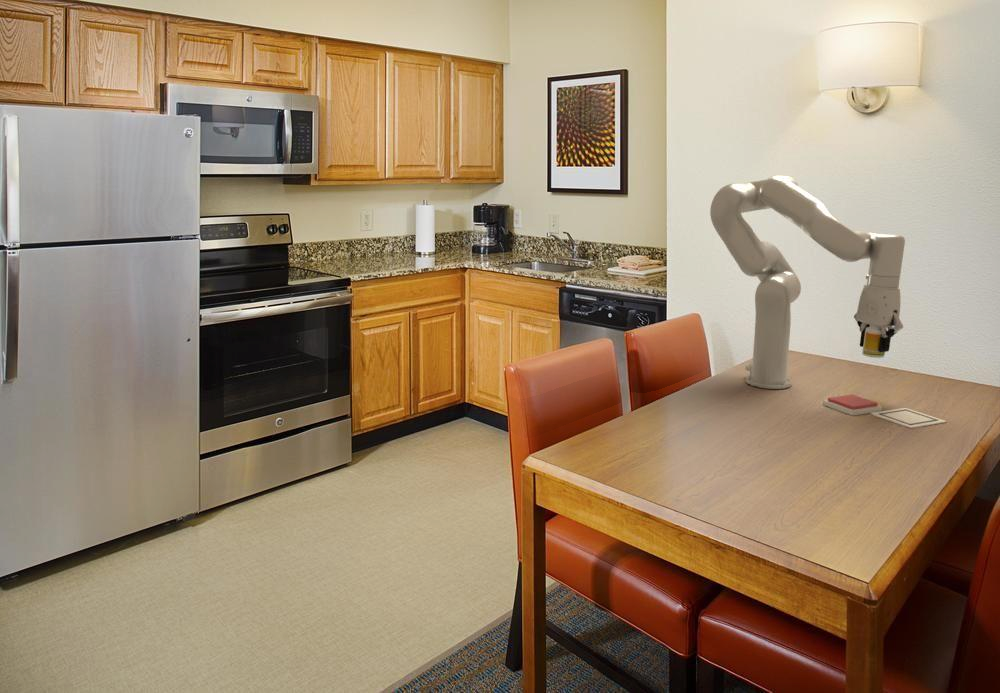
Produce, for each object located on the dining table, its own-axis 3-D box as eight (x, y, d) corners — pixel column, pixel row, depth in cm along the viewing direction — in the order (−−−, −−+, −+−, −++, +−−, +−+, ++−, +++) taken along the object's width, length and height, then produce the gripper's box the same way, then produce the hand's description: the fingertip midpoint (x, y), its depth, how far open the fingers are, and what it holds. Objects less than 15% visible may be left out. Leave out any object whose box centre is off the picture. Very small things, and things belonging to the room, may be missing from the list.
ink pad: (822, 404, 204) (823, 397, 204) (851, 400, 208) (852, 393, 208) (852, 415, 195) (853, 407, 195) (881, 410, 199) (882, 403, 199)
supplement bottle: (886, 358, 204) (891, 322, 202) (864, 357, 205) (869, 321, 203) (881, 353, 209) (886, 318, 207) (859, 352, 210) (864, 317, 208)
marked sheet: (870, 414, 196) (870, 412, 196) (905, 408, 201) (905, 407, 201) (910, 428, 185) (911, 426, 185) (946, 422, 190) (946, 420, 190)
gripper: (846, 277, 209) (838, 342, 213) (900, 287, 193) (890, 357, 198) (867, 276, 211) (859, 340, 216) (921, 286, 196) (911, 355, 200)
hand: (874, 348), depth 207 cm, fingers closed on supplement bottle, 5 cm apart
